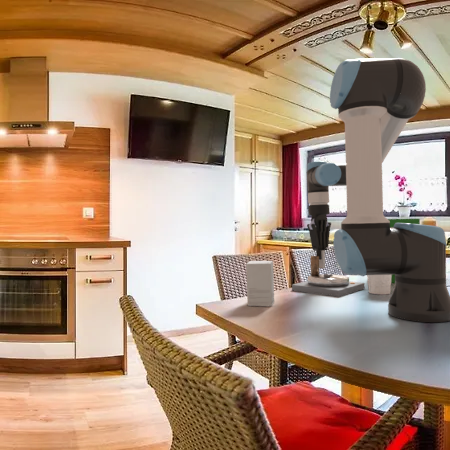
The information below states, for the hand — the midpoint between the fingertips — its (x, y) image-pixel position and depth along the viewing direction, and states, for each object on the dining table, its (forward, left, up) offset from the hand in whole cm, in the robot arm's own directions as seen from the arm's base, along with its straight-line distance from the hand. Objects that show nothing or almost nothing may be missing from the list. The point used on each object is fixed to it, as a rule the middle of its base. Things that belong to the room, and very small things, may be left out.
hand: (321, 268), depth 144 cm
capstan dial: (-5, -6, -4) cm, 9 cm away
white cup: (0, -22, -7) cm, 23 cm away
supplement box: (-37, -2, -7) cm, 38 cm away
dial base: (-5, -6, -7) cm, 10 cm away
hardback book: (+24, -17, -7) cm, 30 cm away
